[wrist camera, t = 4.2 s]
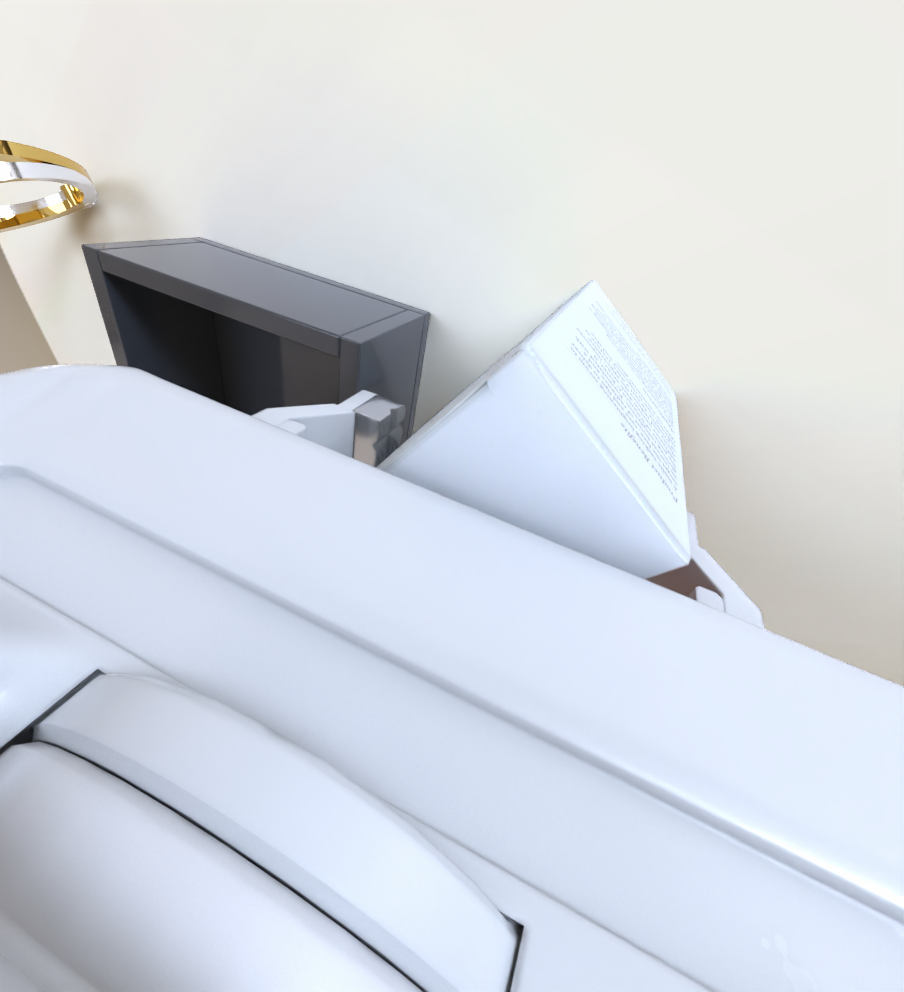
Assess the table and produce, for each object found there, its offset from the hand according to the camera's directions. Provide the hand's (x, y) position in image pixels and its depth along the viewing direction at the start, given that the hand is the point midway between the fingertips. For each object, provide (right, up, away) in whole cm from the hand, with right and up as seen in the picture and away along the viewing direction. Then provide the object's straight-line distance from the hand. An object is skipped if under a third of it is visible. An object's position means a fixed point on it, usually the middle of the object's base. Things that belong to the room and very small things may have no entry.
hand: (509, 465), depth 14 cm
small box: (+3, +3, +5) cm, 7 cm away
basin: (-10, +4, +10) cm, 15 cm away
